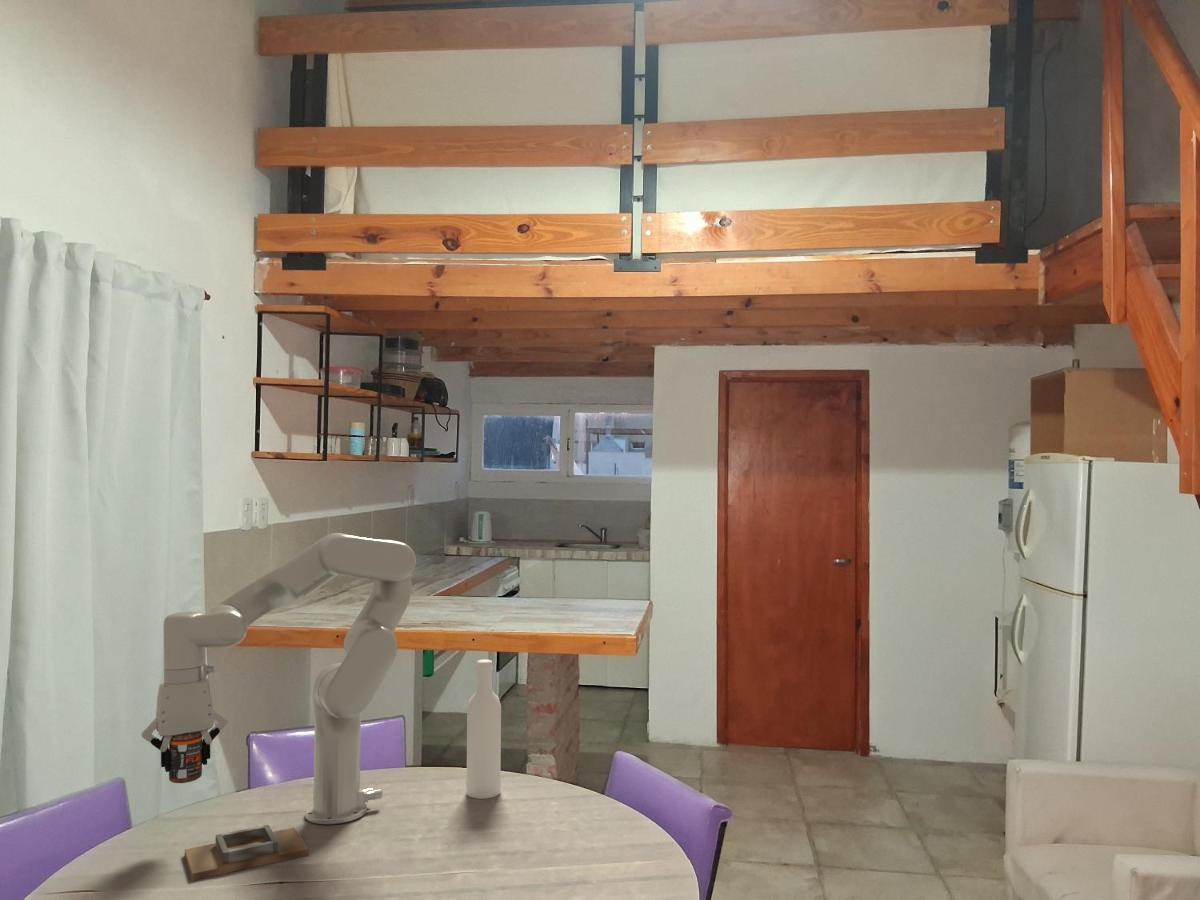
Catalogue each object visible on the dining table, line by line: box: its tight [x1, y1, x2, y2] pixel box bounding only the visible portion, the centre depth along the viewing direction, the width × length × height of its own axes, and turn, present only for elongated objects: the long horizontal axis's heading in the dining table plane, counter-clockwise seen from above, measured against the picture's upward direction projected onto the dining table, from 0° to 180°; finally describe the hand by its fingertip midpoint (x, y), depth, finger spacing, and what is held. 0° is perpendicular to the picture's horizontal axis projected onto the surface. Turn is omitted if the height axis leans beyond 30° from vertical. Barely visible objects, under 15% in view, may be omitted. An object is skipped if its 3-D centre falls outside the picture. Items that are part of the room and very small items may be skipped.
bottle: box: [465, 659, 502, 800], centre depth 195 cm, size 8×8×30 cm
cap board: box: [184, 824, 309, 881], centre depth 161 cm, size 20×12×3 cm, turn 122°
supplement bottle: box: [168, 732, 203, 784], centre depth 168 cm, size 6×6×11 cm
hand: (185, 765), depth 168 cm, fingers closed on supplement bottle, 6 cm apart
